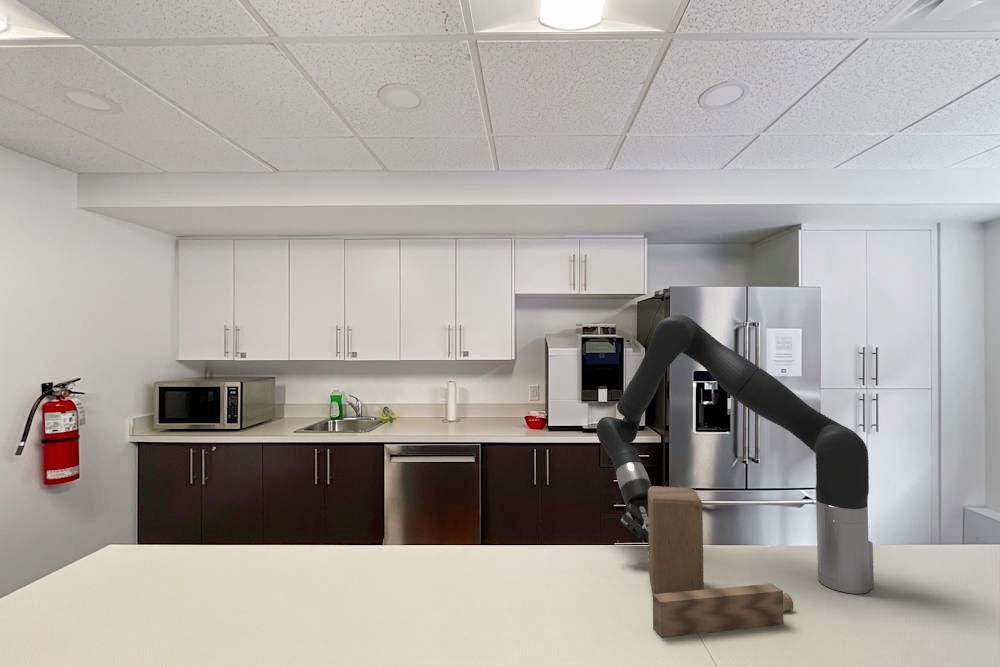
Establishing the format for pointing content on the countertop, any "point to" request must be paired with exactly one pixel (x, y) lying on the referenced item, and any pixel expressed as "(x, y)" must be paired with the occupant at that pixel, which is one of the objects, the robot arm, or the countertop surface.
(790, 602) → the roller
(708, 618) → the board
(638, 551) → the countertop surface
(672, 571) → the wooden block
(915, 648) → the countertop surface
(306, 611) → the countertop surface
